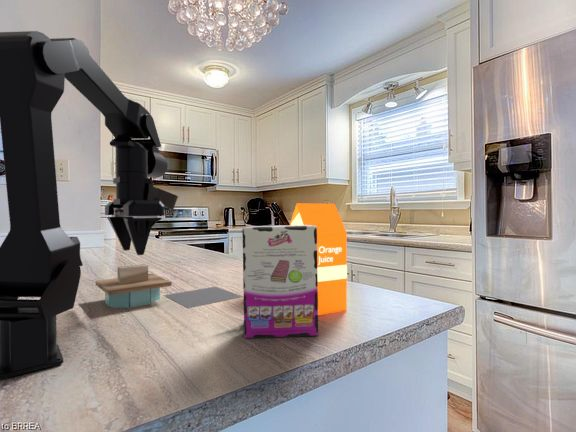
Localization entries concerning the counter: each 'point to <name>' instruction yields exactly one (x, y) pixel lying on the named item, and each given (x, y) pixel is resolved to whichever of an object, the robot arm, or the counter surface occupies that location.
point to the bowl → (133, 298)
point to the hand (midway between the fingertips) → (133, 252)
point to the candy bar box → (280, 281)
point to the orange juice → (327, 254)
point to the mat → (202, 297)
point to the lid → (132, 280)
